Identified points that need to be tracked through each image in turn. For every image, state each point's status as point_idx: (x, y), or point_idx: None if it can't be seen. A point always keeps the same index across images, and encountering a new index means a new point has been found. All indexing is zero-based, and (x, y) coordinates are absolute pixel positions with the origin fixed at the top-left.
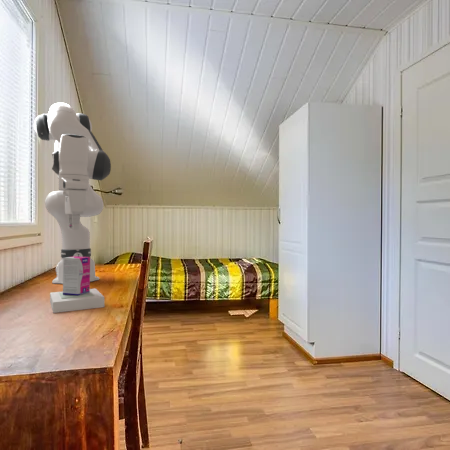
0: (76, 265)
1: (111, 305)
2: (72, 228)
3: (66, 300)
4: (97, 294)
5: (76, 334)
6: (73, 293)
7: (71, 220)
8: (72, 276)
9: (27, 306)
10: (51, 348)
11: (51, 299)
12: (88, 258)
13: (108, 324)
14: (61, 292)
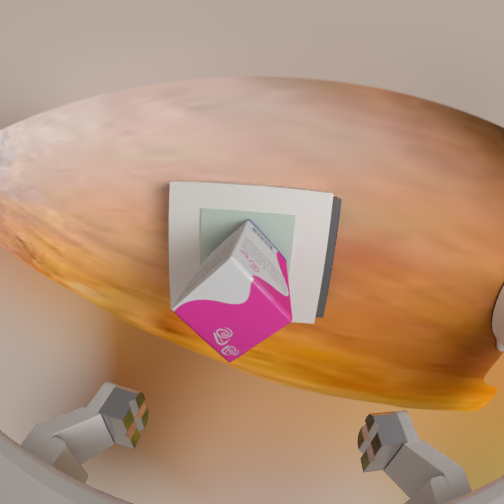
0: (186, 288)
1: None
2: (123, 388)
3: (175, 217)
4: None
5: (33, 207)
6: (217, 246)
7: (412, 471)
8: (209, 260)
9: (301, 129)
10: (8, 174)
11: (244, 184)
12: (221, 352)
13: (57, 262)
14: (312, 224)
